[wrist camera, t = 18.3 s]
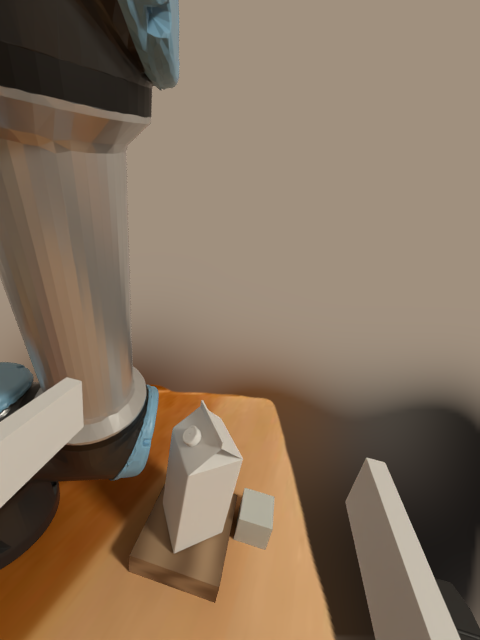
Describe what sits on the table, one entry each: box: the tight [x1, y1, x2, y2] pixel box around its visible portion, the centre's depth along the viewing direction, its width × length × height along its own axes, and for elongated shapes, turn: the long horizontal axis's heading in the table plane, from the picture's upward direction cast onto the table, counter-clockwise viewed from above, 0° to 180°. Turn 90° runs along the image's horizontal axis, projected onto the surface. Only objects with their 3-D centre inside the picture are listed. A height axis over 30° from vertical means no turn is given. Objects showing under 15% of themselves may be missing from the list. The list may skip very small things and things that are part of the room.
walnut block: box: [129, 485, 237, 603], centre depth 39 cm, size 12×12×4 cm
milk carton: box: [163, 400, 243, 553], centre depth 35 cm, size 7×7×19 cm
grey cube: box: [234, 488, 274, 550], centre depth 41 cm, size 5×5×5 cm
